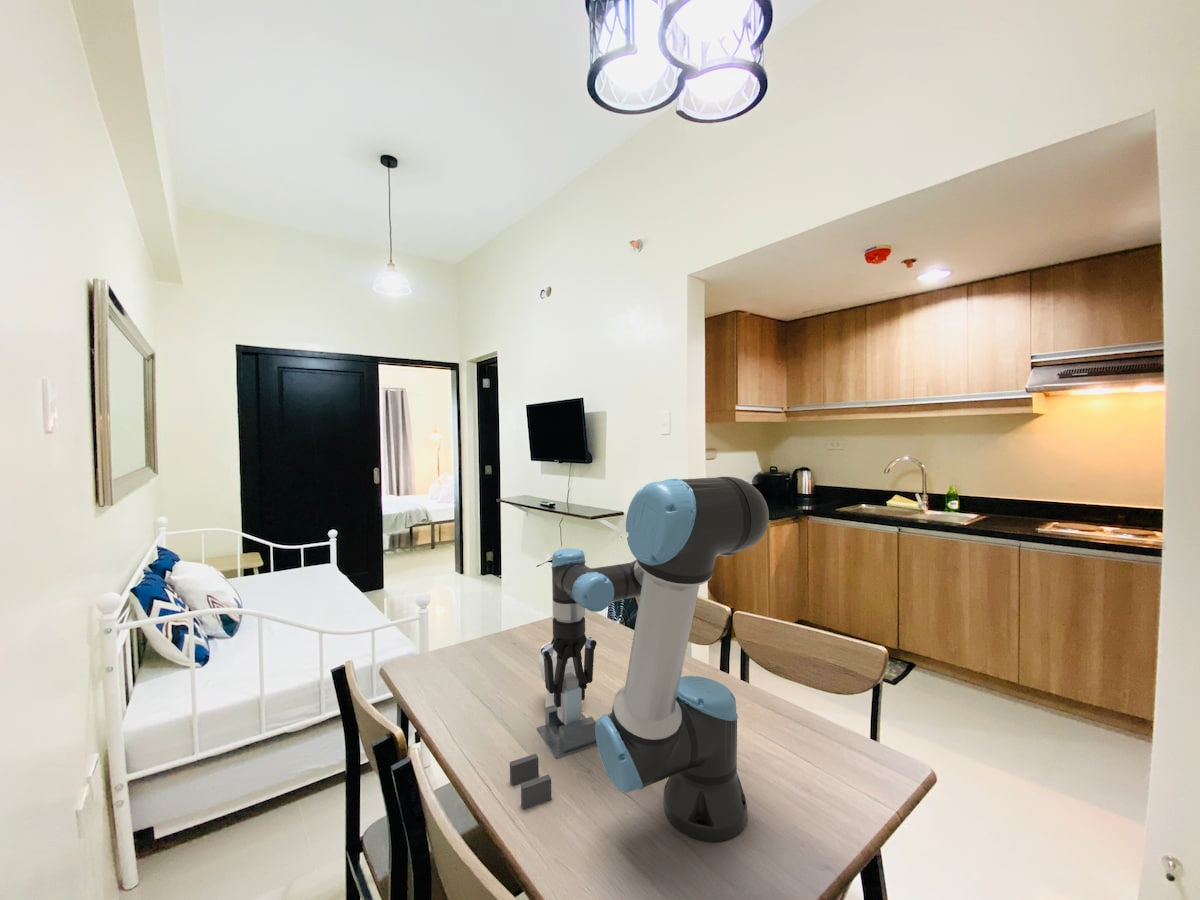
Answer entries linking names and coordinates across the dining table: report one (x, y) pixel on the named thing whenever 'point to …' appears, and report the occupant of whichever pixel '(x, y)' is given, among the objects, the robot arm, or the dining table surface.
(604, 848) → the dining table surface
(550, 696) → the cup
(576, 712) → the plug
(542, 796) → the pair of dark bars
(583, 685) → the robot arm
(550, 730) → the port
